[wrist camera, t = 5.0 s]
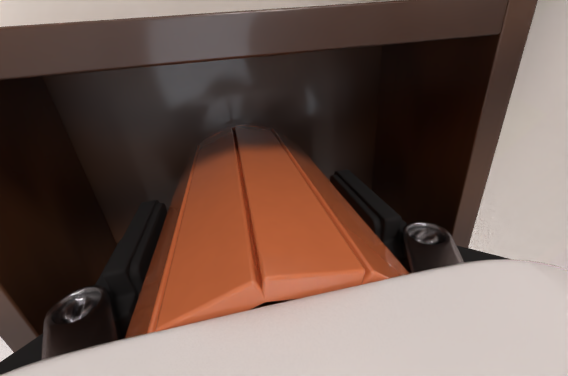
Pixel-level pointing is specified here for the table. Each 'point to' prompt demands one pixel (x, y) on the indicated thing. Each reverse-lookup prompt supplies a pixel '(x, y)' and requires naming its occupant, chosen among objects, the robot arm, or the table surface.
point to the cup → (253, 234)
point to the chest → (239, 119)
